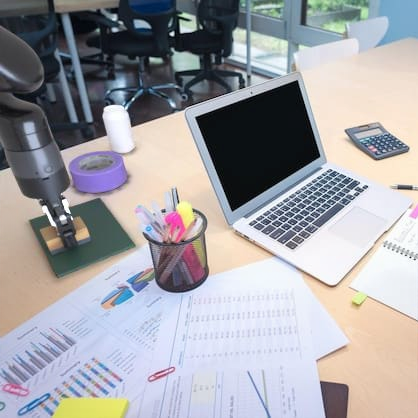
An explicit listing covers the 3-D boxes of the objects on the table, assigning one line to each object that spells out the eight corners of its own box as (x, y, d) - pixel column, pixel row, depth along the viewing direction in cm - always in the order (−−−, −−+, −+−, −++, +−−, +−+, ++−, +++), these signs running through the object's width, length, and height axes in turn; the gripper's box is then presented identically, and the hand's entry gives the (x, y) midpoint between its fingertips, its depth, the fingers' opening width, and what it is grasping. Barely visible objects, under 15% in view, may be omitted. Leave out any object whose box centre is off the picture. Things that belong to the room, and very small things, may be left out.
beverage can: (124, 142, 111) (114, 102, 104) (140, 148, 110) (132, 107, 102) (106, 151, 107) (95, 109, 100) (123, 157, 105) (113, 115, 98)
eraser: (52, 255, 74) (45, 242, 71) (45, 243, 76) (39, 229, 74) (91, 241, 78) (86, 227, 75) (84, 229, 80) (79, 215, 78)
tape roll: (75, 171, 98) (69, 153, 95) (125, 164, 102) (121, 147, 99) (73, 197, 89) (67, 178, 86) (129, 188, 94) (124, 170, 91)
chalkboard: (58, 278, 70) (57, 275, 70) (29, 222, 82) (28, 219, 81) (135, 246, 78) (135, 244, 78) (100, 199, 90) (99, 197, 89)
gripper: (3, 154, 68) (36, 228, 78) (22, 191, 60) (57, 269, 70) (51, 143, 73) (77, 215, 83) (75, 177, 64) (101, 252, 75)
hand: (67, 240), depth 77 cm, fingers closed on eraser, 4 cm apart
